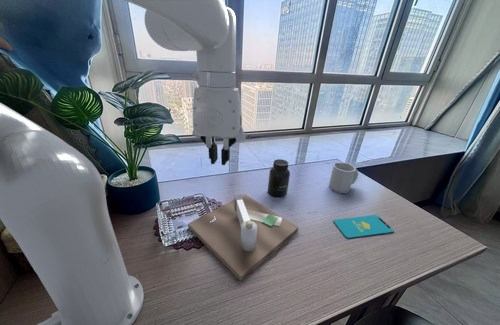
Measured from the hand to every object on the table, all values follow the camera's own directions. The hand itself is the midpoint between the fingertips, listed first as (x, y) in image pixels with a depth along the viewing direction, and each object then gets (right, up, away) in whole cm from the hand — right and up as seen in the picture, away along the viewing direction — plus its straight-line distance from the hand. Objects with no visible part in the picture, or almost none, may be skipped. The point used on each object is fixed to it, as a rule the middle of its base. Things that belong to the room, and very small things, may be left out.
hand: (219, 161), depth 51 cm
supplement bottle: (+17, -11, +23) cm, 31 cm away
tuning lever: (+6, -18, +4) cm, 19 cm away
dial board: (+6, -18, +6) cm, 20 cm away
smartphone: (+39, -19, +9) cm, 45 cm away
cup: (+42, -10, +28) cm, 51 cm away
